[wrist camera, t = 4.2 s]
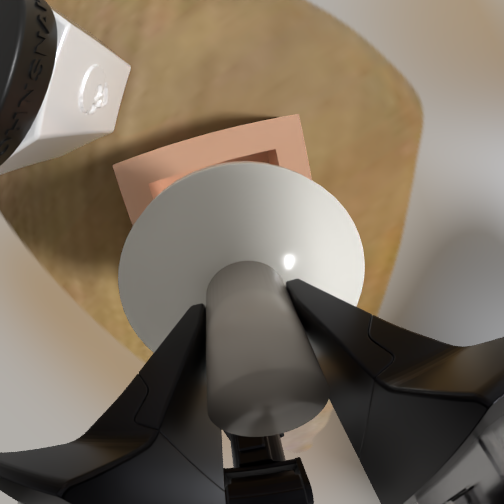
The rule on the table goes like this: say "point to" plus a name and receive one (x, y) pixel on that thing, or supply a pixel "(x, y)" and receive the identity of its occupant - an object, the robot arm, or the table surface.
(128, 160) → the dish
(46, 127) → the jar
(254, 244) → the lid
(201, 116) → the table surface
